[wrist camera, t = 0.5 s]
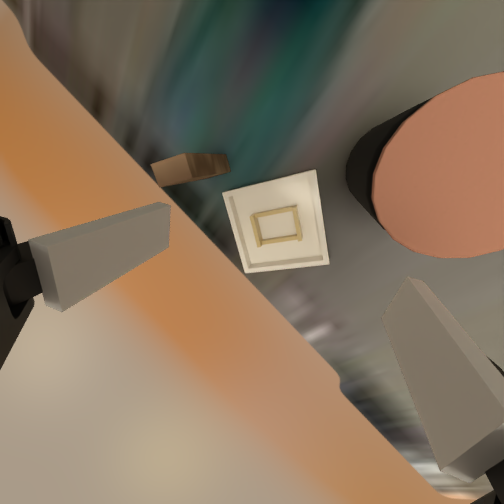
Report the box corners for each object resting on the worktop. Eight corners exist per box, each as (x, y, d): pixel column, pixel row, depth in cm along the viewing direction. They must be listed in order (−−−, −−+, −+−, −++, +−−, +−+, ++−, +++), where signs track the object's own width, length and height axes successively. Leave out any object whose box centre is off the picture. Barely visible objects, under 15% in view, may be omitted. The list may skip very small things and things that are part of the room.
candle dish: (228, 190, 36) (221, 192, 34) (315, 168, 32) (315, 169, 29) (249, 266, 41) (244, 273, 38) (328, 257, 36) (329, 264, 34)
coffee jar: (365, 220, 33) (411, 282, 17) (330, 155, 31) (343, 154, 15) (451, 178, 28) (626, 208, 12) (416, 99, 26) (571, 7, 10)
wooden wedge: (200, 162, 36) (150, 164, 25) (226, 154, 34) (184, 152, 24) (205, 178, 37) (159, 187, 26) (230, 171, 35) (192, 177, 24)
